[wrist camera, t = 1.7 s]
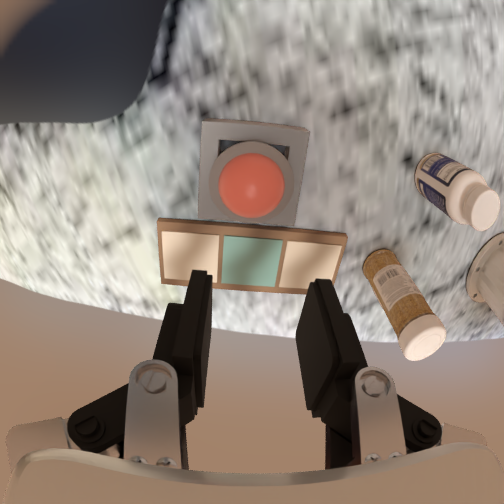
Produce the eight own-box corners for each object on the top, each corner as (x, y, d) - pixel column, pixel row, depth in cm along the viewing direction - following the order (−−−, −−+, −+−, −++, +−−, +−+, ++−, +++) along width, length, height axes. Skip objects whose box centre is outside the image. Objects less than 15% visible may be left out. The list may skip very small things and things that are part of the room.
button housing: (304, 127, 25) (309, 131, 23) (290, 214, 30) (293, 226, 28) (206, 118, 25) (202, 121, 23) (201, 207, 29) (197, 218, 27)
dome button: (294, 141, 24) (307, 156, 19) (283, 212, 28) (291, 242, 23) (214, 133, 24) (206, 146, 19) (210, 206, 27) (202, 235, 22)
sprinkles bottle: (364, 283, 35) (404, 368, 24) (359, 254, 33) (405, 340, 21) (397, 271, 34) (444, 351, 23) (394, 242, 32) (450, 321, 21)
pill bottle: (444, 199, 29) (494, 240, 21) (409, 194, 29) (458, 237, 21) (454, 156, 26) (510, 187, 18) (418, 147, 26) (475, 178, 18)
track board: (345, 233, 31) (348, 238, 30) (328, 291, 35) (330, 296, 35) (159, 218, 30) (156, 222, 29) (162, 279, 34) (161, 284, 33)
